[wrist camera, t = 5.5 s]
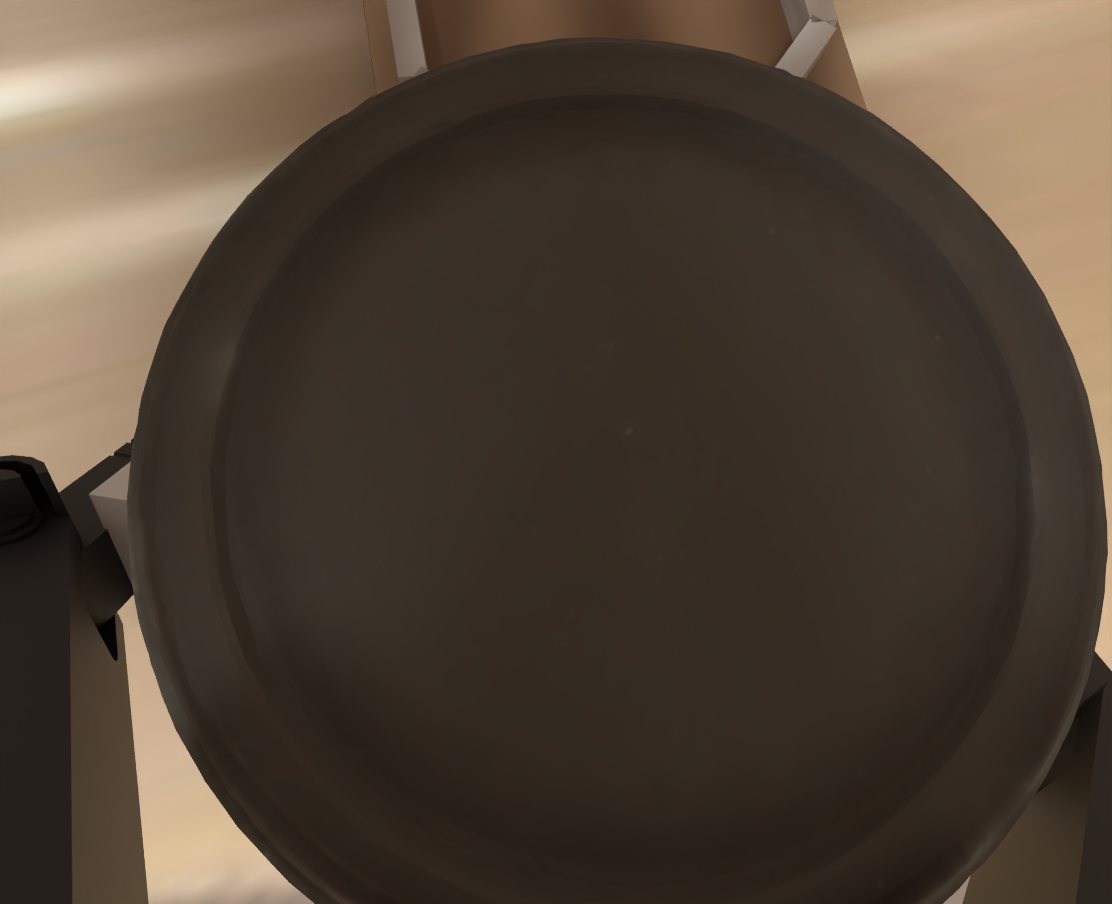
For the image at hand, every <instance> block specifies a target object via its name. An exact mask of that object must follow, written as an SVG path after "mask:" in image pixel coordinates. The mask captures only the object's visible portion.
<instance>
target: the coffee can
mask: <svg viewBox="0 0 1112 904" xmlns="http://www.w3.org/2000/svg"><path fill="white" fill-rule="evenodd" d="M127 520H128V549H129V560H130V571H131V579H132V585H133V591H134V598H135V604H136V609H137V614H138V619H139V623H140V627H141V631H142V634H143V638H144V641H145V644H146V647H147V650H148V653H149V657H150V661H151V665H152V668H153V670H154V673H155V676H156V679H157V682H158V685H159V688H160V691H161V694H162V697H163V699H164V702H165V704H166V707H167V709H168V712H169V714H170V717H171V719H172V721H173V724H174V726H175V729H176V731H177V733H178V734H179V736H180V738H181V740H182V741H183V743H184V745H185V747H186V748H187V750H188V752H189V753H190V755H191V757H192V759H193V760H194V762H195V764H196V766H197V767H198V769H199V771H200V773H201V775H202V776H203V778H204V780H205V782H206V783H207V784H208V786H209V787H210V789H211V790H212V791H213V793H214V794H215V796H216V797H217V798H218V800H219V801H220V803H221V804H222V805H223V807H224V808H225V810H226V811H227V812H228V814H229V815H230V817H231V818H232V820H233V821H234V822H235V824H236V825H237V827H238V828H239V829H240V830H241V831H242V832H243V833H244V834H245V835H246V836H247V838H248V839H249V840H250V841H251V842H252V843H253V844H254V845H255V846H256V847H257V848H258V850H259V851H260V852H261V853H262V854H263V855H264V856H265V857H266V858H267V859H268V860H269V861H270V863H271V864H272V865H273V866H274V867H275V868H276V869H277V870H278V871H279V872H280V873H281V874H282V875H283V876H284V877H285V878H286V879H287V880H288V882H289V883H291V884H292V885H293V886H294V887H295V888H297V889H298V890H299V891H300V892H301V893H303V894H304V895H305V896H306V897H307V898H309V899H310V900H311V901H312V902H314V903H315V904H943V903H944V902H945V901H946V900H947V899H948V898H949V897H950V896H952V895H953V894H954V893H955V892H956V891H957V890H958V889H959V888H960V887H961V886H962V884H963V883H964V882H965V881H966V880H967V878H968V877H969V876H970V875H971V874H972V873H973V872H974V871H976V870H977V869H978V868H979V867H981V866H982V865H983V864H984V863H985V861H986V860H987V859H988V858H989V857H990V856H991V854H992V853H993V852H994V851H995V850H996V848H997V847H998V846H999V845H1000V843H1001V842H1002V841H1003V839H1004V838H1005V837H1006V835H1007V834H1008V833H1009V831H1010V830H1011V828H1012V827H1013V826H1014V824H1015V823H1016V822H1017V820H1018V819H1019V818H1020V816H1021V815H1022V814H1023V812H1024V811H1025V810H1026V808H1027V806H1028V805H1029V803H1030V802H1031V800H1032V798H1033V797H1034V795H1035V794H1036V792H1037V791H1038V789H1039V787H1040V786H1041V784H1042V782H1043V780H1044V779H1045V777H1046V775H1047V774H1048V772H1049V770H1050V768H1051V766H1052V764H1053V762H1054V760H1055V758H1056V756H1057V754H1058V752H1059V750H1060V748H1061V746H1062V744H1063V742H1064V740H1065V738H1066V736H1067V734H1068V732H1069V730H1070V728H1071V725H1072V722H1073V720H1074V717H1075V714H1076V711H1077V708H1078V705H1079V702H1080V700H1081V697H1082V694H1083V691H1084V688H1085V685H1086V682H1087V680H1088V677H1089V673H1090V669H1091V664H1092V659H1093V655H1094V650H1095V645H1096V641H1097V636H1098V631H1099V626H1100V620H1101V613H1102V606H1103V600H1104V593H1105V575H1106V563H1107V556H1108V546H1107V519H1106V509H1105V499H1104V490H1103V480H1102V464H1101V459H1100V454H1099V449H1098V444H1097V438H1096V433H1095V428H1094V423H1093V419H1092V414H1091V410H1090V405H1089V400H1088V396H1087V393H1086V390H1085V387H1084V384H1083V382H1082V379H1081V376H1080V373H1079V370H1078V368H1077V365H1076V362H1075V359H1074V356H1073V354H1072V352H1071V349H1070V347H1069V345H1068V343H1067V341H1066V339H1065V337H1064V334H1063V332H1062V330H1061V328H1060V326H1059V324H1058V322H1057V320H1056V318H1055V315H1054V313H1053V311H1052V309H1051V307H1050V305H1049V303H1048V301H1047V299H1046V297H1045V295H1044V293H1043V291H1042V290H1041V288H1040V287H1039V285H1038V284H1037V282H1036V280H1035V279H1034V277H1033V276H1032V274H1031V273H1030V271H1029V270H1028V268H1027V266H1026V265H1025V263H1024V262H1023V260H1022V259H1021V257H1020V255H1019V254H1018V252H1017V251H1016V249H1015V248H1014V247H1013V245H1012V244H1011V243H1010V242H1009V240H1008V239H1007V238H1006V237H1005V236H1004V234H1003V233H1002V232H1001V231H1000V229H999V228H998V227H997V226H996V224H995V223H994V222H993V221H992V219H991V218H990V217H989V216H988V215H987V214H986V213H985V212H984V211H983V210H982V209H981V207H980V206H979V205H978V204H977V203H976V202H975V201H974V200H973V199H972V198H971V197H970V195H969V194H968V193H967V192H966V191H965V190H964V189H963V188H962V187H961V186H960V185H959V184H958V183H957V182H956V181H955V180H953V179H952V178H951V177H950V176H949V175H948V174H947V173H946V172H945V171H944V170H943V169H942V168H941V167H940V166H939V165H938V164H937V163H936V162H935V161H933V160H932V159H931V158H930V157H929V156H927V155H926V154H925V153H924V152H923V151H921V150H920V149H919V148H918V147H917V146H916V145H914V144H913V143H912V142H911V141H910V140H908V139H907V138H905V137H904V136H903V135H901V134H900V133H899V132H897V131H896V130H894V129H893V128H892V127H890V126H889V125H888V124H886V123H885V122H883V121H882V120H881V119H879V118H878V117H876V116H875V115H874V114H872V113H871V112H869V111H867V110H865V109H863V108H861V107H860V106H858V105H856V104H854V103H852V102H851V101H849V100H847V99H846V98H844V97H842V96H840V95H839V94H837V93H835V92H833V91H831V90H829V89H827V88H825V87H823V86H820V85H818V84H816V83H814V82H812V81H810V80H807V79H805V78H802V77H798V76H794V75H792V74H791V73H789V72H787V71H786V70H784V69H780V68H775V67H771V66H768V65H764V64H761V63H758V62H755V61H752V60H749V59H746V58H743V57H740V56H737V55H734V54H731V53H727V52H722V51H716V50H711V49H706V48H700V47H694V46H689V45H683V44H677V43H671V42H664V41H653V40H641V39H628V38H606V37H584V38H562V39H553V40H548V41H542V42H536V43H527V44H518V45H514V46H510V47H506V48H502V49H498V50H494V51H490V52H486V53H481V54H477V55H473V56H469V57H466V58H464V59H461V60H458V61H455V62H452V63H449V64H445V65H442V66H439V67H437V68H434V69H432V70H430V71H427V72H425V73H423V74H420V75H418V76H416V77H413V78H411V79H409V80H407V81H405V82H403V83H400V84H398V85H396V86H394V87H392V88H390V89H388V90H386V91H384V92H381V93H379V94H377V95H375V96H373V97H371V98H369V99H367V100H366V101H364V102H363V103H362V104H360V105H359V106H358V107H357V108H355V109H354V110H353V111H351V112H350V113H348V114H346V115H344V116H342V117H340V118H338V119H336V120H335V121H333V122H332V123H330V124H328V125H327V126H325V127H324V128H322V129H321V130H320V131H318V132H317V133H316V134H315V135H313V136H312V137H311V138H309V139H308V140H307V141H305V142H304V143H303V144H302V145H300V146H299V147H298V148H297V149H296V150H295V151H294V152H293V153H291V154H290V155H289V156H288V157H287V158H286V159H285V160H284V161H283V162H282V163H281V164H279V165H278V166H277V167H276V168H275V169H274V170H273V171H272V172H271V173H270V174H269V175H268V176H267V177H266V178H265V179H264V180H263V181H262V182H261V183H260V184H259V185H258V186H257V187H256V188H255V189H254V190H253V191H252V192H251V193H250V194H249V195H248V196H247V197H246V198H245V200H244V201H243V202H242V203H241V205H240V206H239V207H238V208H237V210H236V211H235V212H234V213H233V215H232V216H231V217H230V218H229V220H228V221H227V222H226V223H225V225H224V226H223V228H222V229H221V230H220V232H219V233H218V234H217V236H216V237H215V239H214V240H213V241H212V243H211V244H210V246H209V248H208V249H207V251H206V253H205V254H204V256H203V257H202V259H201V261H200V263H199V264H198V266H197V268H196V269H195V271H194V273H193V275H192V276H191V278H190V280H189V282H188V283H187V285H186V287H185V289H184V290H183V292H182V294H181V296H180V298H179V299H178V301H177V303H176V305H175V307H174V309H173V311H172V313H171V315H170V316H169V318H168V320H167V322H166V324H165V326H164V329H163V332H162V335H161V338H160V341H159V344H158V347H157V350H156V353H155V356H154V359H153V362H152V365H151V368H150V371H149V374H148V377H147V381H146V384H145V388H144V391H143V395H142V398H141V403H140V408H139V416H138V424H137V428H136V432H135V435H134V439H133V445H132V454H131V463H130V472H129V482H128V493H127Z"/></svg>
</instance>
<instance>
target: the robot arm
mask: <svg viewBox="0 0 1112 904" xmlns="http://www.w3.org/2000/svg"><path fill="white" fill-rule="evenodd" d="M133 439H134V438H133ZM133 439H132V440H131V443H126V444H125V445H123V446H122V447H121V448H119V449H118V450H117V451H115V452H114V455H113V456H108V457H107V458H106V459H104V460H103V461H102V462H100V463H99V464H97V465H96V466H95V467H93V468H92V469H91V470H89V471H88V472H87V473H85V474H84V475H82V476H81V477H80V478H78V479H77V480H76V481H74V482H73V483H72V484H70V485H69V486H67V487H66V488H65V489H63V490H62V491H61V492H58V490H57V488H56V486H55V484H54V482H53V480H52V478H51V476H50V474H49V472H48V470H47V468H46V466H45V464H44V462H41V461H39V460H37V459H35V458H32V457H25V456H14V455H11V456H1V457H0V904H148V893H147V882H146V871H145V860H144V849H143V838H142V828H141V817H140V806H139V795H138V784H137V773H136V762H135V751H134V740H133V729H132V719H131V708H130V697H129V686H128V675H127V664H126V653H125V642H124V631H123V623H122V621H121V619H120V617H119V615H118V613H117V611H118V610H119V609H120V608H121V607H122V606H123V605H124V604H125V603H126V602H127V601H128V600H129V599H130V598H131V596H132V595H133V594H134V591H133V585H132V579H131V571H130V560H129V549H128V520H127V493H128V482H129V472H130V463H131V454H132V445H133ZM963 904H1112V671H1111V670H1110V669H1109V668H1108V666H1107V665H1106V664H1105V663H1104V662H1103V660H1102V659H1101V658H1100V657H1099V656H1098V655H1097V653H1096V652H1095V651H1094V655H1093V659H1092V664H1091V669H1090V673H1089V677H1088V680H1087V682H1086V685H1085V688H1084V691H1083V694H1082V697H1081V700H1080V702H1079V705H1078V708H1077V711H1076V714H1075V717H1074V720H1073V722H1072V725H1071V728H1070V730H1069V732H1068V734H1067V736H1066V738H1065V740H1064V742H1063V744H1062V746H1061V748H1060V750H1059V752H1058V754H1057V756H1056V758H1055V760H1054V762H1053V764H1052V766H1051V768H1050V770H1049V772H1048V774H1047V775H1046V777H1045V779H1044V780H1043V782H1042V784H1041V786H1040V787H1039V789H1038V791H1037V792H1036V794H1035V795H1034V797H1033V798H1032V800H1031V802H1030V803H1029V805H1028V806H1027V808H1026V810H1025V811H1024V812H1023V814H1022V815H1021V816H1020V818H1019V819H1018V820H1017V822H1016V823H1015V824H1014V826H1013V827H1012V828H1011V830H1010V831H1009V833H1008V834H1007V835H1006V837H1005V838H1004V839H1003V841H1002V842H1001V843H1000V845H999V846H998V847H997V848H996V850H995V851H994V852H993V853H992V854H991V856H990V857H989V858H988V859H987V860H986V861H985V863H984V864H983V865H982V866H981V867H979V868H978V869H977V870H976V871H974V872H973V873H972V874H971V876H970V879H969V883H968V887H967V890H966V894H965V897H964V901H963Z"/></svg>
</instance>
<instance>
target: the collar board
mask: <svg viewBox="0 0 1112 904" xmlns="http://www.w3.org/2000/svg"><path fill="white" fill-rule="evenodd" d="M363 5H364V12H365V18H366V25H367V32H368V38H369V45H370V52H371V59H372V65H373V72H374V79H375V85H376V92H377V94H379V93H381V92H384V91H386V90H388V89H390V88H392V87H394V86H396V85H398V84H400V83H403V82H405V81H407V80H409V79H411V78H413V77H416V76H418V75H420V74H423V73H425V72H427V71H430V70H432V69H434V68H437V67H439V66H442V65H445V64H449V63H452V62H455V61H458V60H461V59H464V58H466V57H469V56H473V55H477V54H481V53H486V52H490V51H494V50H498V49H502V48H506V47H510V46H514V45H518V44H527V43H536V42H542V41H548V40H553V39H562V38H584V37H606V38H628V39H641V40H653V41H664V42H671V43H677V44H683V45H689V46H694V47H700V48H706V49H711V50H716V51H722V52H727V53H731V54H734V55H737V56H740V57H743V58H746V59H749V60H752V61H755V62H758V63H761V64H764V65H768V66H771V67H775V68H780V69H784V70H786V71H787V72H789V73H791V74H792V75H794V76H798V77H802V78H805V79H807V80H810V81H812V82H814V83H816V84H818V85H820V86H823V87H825V88H827V89H829V90H831V91H833V92H835V93H837V94H839V95H840V96H842V97H844V98H846V99H847V100H849V101H851V102H852V103H854V104H856V105H858V106H860V107H861V108H863V109H865V110H867V109H866V106H865V103H864V100H863V97H862V94H861V91H860V88H859V85H858V82H857V79H856V75H855V72H854V69H853V66H852V63H851V60H850V57H849V54H848V51H847V48H846V45H845V42H844V39H843V36H842V33H841V30H840V27H839V24H838V21H837V20H838V18H837V15H836V12H835V9H834V6H833V3H832V0H363Z"/></svg>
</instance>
